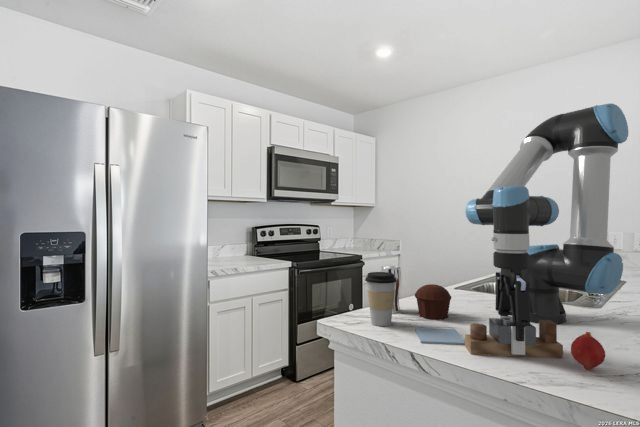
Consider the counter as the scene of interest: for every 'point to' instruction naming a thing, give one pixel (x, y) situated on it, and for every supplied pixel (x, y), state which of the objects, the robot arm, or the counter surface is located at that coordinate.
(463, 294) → the counter surface
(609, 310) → the counter surface
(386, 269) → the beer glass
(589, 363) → the onion
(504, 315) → the robot arm
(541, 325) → the wooden block with pegs
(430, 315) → the muffin
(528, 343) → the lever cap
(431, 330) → the mat
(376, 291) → the coffee cup
